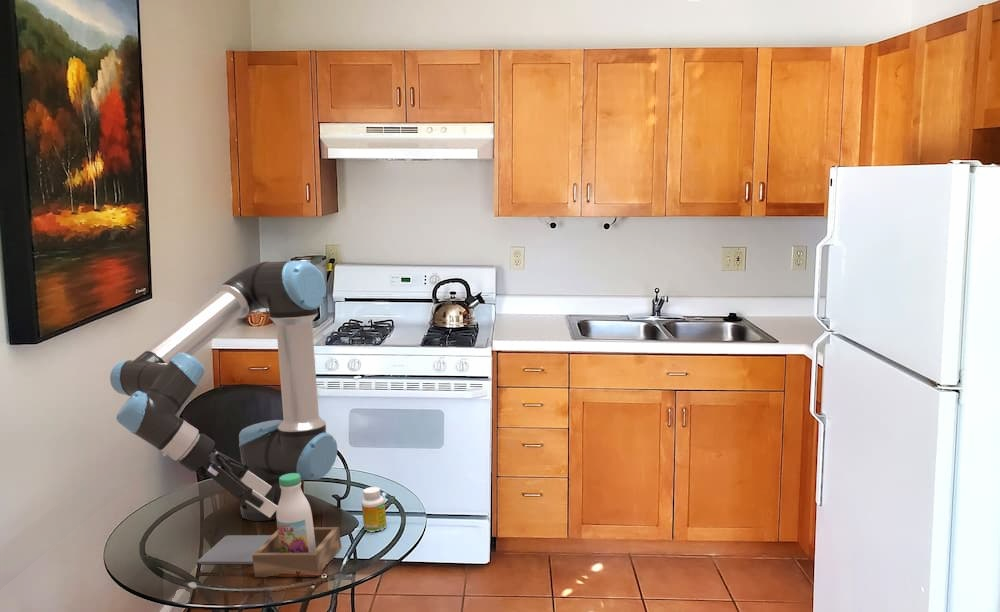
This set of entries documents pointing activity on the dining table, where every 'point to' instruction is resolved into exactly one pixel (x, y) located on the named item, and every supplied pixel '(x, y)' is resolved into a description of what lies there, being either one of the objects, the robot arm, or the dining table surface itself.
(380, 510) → the supplement bottle
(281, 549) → the milk bottle
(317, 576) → the dining table surface
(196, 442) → the robot arm
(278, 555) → the walnut crate
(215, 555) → the rubber mat
